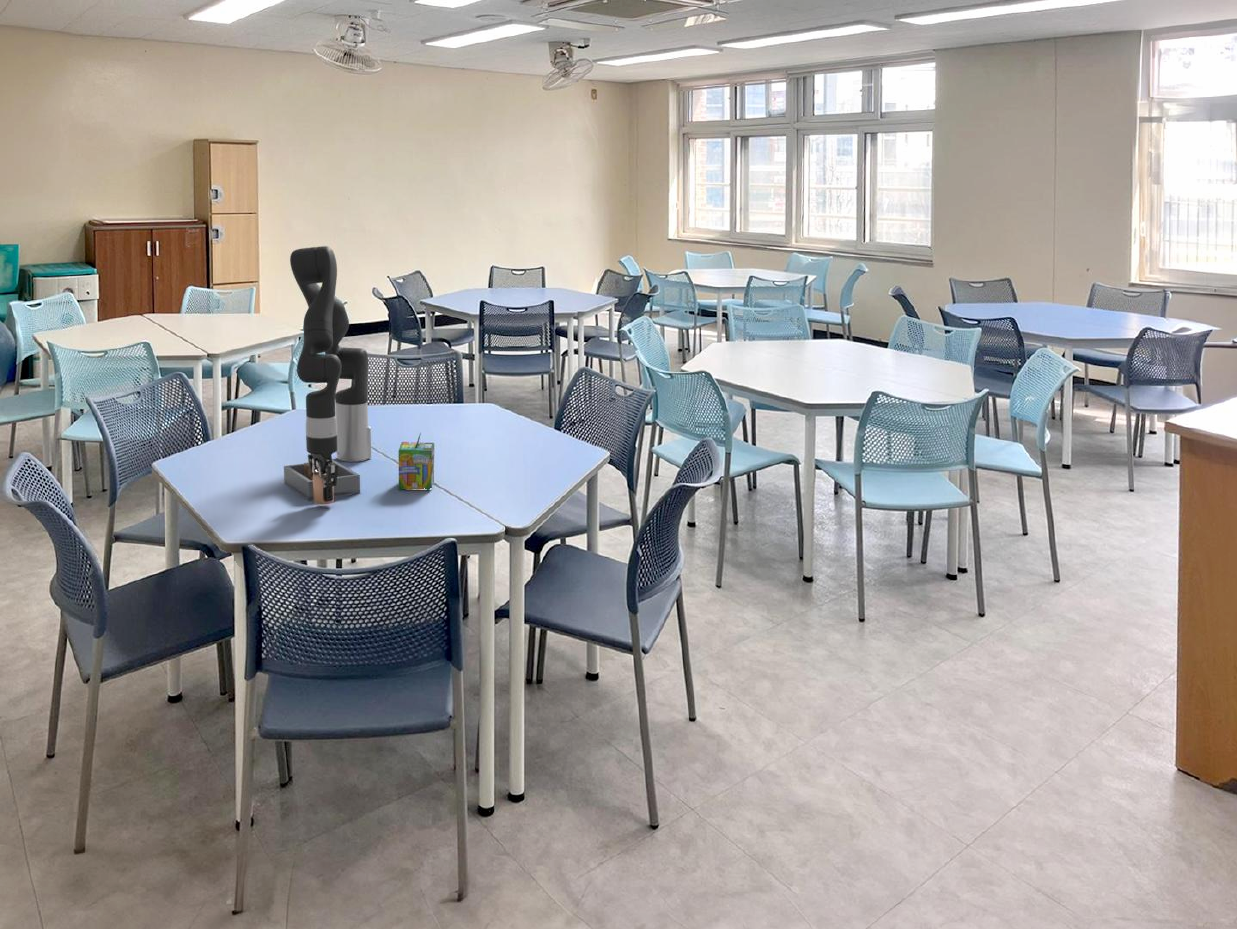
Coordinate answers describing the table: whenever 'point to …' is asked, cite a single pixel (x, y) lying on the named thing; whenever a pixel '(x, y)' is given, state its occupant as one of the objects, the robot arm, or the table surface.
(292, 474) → the charcoal tote
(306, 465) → the walnut cube
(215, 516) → the table surface
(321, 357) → the robot arm
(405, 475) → the juice box
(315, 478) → the terracotta cylinder
